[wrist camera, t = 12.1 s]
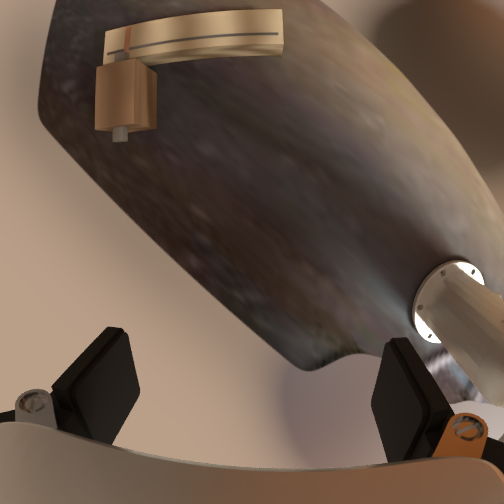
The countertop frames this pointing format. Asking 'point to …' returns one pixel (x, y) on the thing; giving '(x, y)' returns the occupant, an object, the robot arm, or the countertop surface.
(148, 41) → the guide plank
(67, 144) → the countertop surface
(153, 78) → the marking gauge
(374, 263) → the countertop surface
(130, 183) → the countertop surface
